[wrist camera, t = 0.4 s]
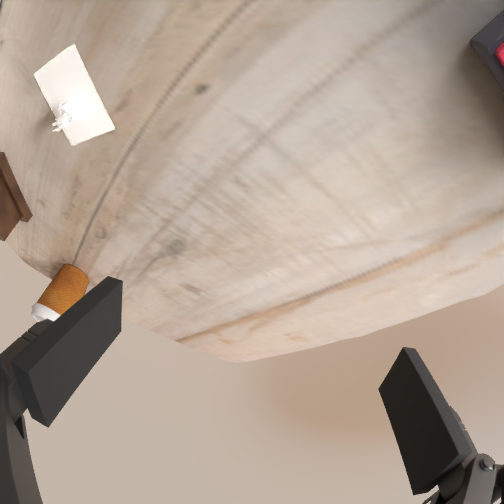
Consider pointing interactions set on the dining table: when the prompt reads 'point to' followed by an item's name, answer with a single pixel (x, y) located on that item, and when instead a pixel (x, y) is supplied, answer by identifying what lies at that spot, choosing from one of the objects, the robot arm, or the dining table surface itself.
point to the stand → (10, 200)
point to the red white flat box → (492, 47)
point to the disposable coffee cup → (61, 293)
